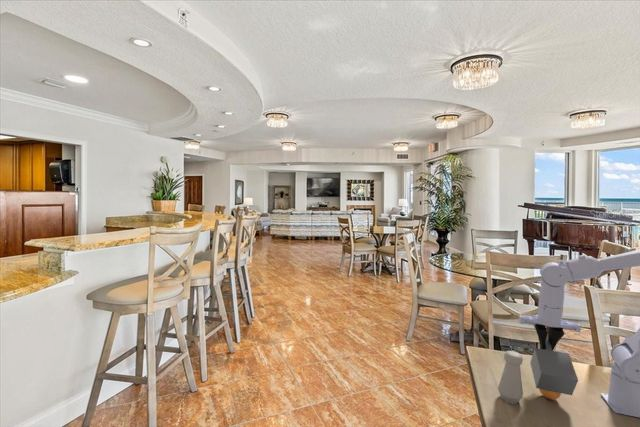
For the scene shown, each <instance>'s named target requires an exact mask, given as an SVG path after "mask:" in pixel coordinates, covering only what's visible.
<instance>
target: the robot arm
mask: <svg viewBox="0 0 640 427" xmlns="http://www.w3.org/2000/svg"><path fill="white" fill-rule="evenodd" d="M634 267H636V268H637V267H640V249H635V250H632V251H627V252H624V253H623V252H622V253H618V254H614V255H610V256H605V257H602V258H596V257H593V256H591V255H588V256H586V255H585V254H581V255H578V258H573V259H567V260H563V259H559V260H558V261H557V262H553V261H552V262H547V263H544V265H542V267H541V269H540V270H539V274H540V276H541V277H542V278H541V282H540V287H539V295H538V296H539V298H538V307H537V315H527V314H525V315H524V314H519V315H518V322H519V323H520V324H521V325H526V324H527V325H533V326H534V329H535V332H536V334H537V337H538V342H539V349H544V350H545V349H546V338H547V336H548V338H549V341H550V344H551V347H552V351H555V347H556V345H557V344H558V342H559V341H560V340H561V339H562V338H563V337H564V336H565V331H564V330H567V331H574V332H576V333H581V330H582V329H581V328H582V326H581V325H580V323H578V322H573V321H570V320H564V319H563V312H564V311H563V310H564V303H565V294H566V293H565V285H567V283H568V282H570V283H572V282H577V281H581V280H588V279H594V278H598V277H600V276H601V275H602V273H603V272H606V271H608V272H609V271H614V270H621V269H626V268H627V269H629V268H634ZM547 328H548V330H547ZM610 356H611V359H612V360H613V361H614V364H613V365H612V366H611V369H610V377H609V378H610V379H609V387H608V393H604V392H601V393H600V396H601V397H602V399H604V400H605V402H606V403H607V405H608V406H609V407H610V409H611V410H612V411H613V412H614V413H615V414H621V415H625V416H629V417H630V416H631V417H636V418H640V327H639V328H637V330H636V332H635V333H634V334H633V335H631V336H628V337H625V338H624V339H623V341H622V342H620V343H618V344H615V345H613V347H612V348H611V349H610Z"/></svg>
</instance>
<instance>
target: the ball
mask: <svg viewBox="0 0 640 427" xmlns="http://www.w3.org/2000/svg"><path fill="white" fill-rule="evenodd" d="M539 392H540V393H541V395H542V396H543V397H545V398H547V399H548V400H551V401H553V400H554V401H555V400H558V399H559V398H560V397H561V396H562V393H558V392H553V391H548V390H543V389H539Z"/></svg>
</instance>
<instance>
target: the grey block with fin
mask: <svg viewBox="0 0 640 427" xmlns="http://www.w3.org/2000/svg"><path fill="white" fill-rule="evenodd" d="M530 367H531V370H532V371H531V372H532V375H533V379H534V383H535V388H536V389H543V390H548V391H553V392H558V393H561V394H563V395H569V396H573V393H574V392H575V389H576V387H577V385H578V382H579V378H578V376H577V373H576V371H575V368H574V365H573V362H572V359H571V356H570V353H566V352H560V351H555V350H553V351H552V347H551V344H550V341H549V335H547V338H546V349H545V350H544V349H540V348H537V347H535V348H534V349H533V352H532V356H531V359H530Z"/></svg>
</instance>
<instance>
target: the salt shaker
mask: <svg viewBox="0 0 640 427" xmlns="http://www.w3.org/2000/svg"><path fill="white" fill-rule="evenodd" d="M503 360H504V361H505V364H504V368H503V370H502V371H503V372H502V375H501V377H500V381H499V383H498V387H497V389H498V392H499V394H500V398H501V400H503V401H504V402H506V403H507V404H510V405H517V404H518V403H519V402H520V401H521V400H522V399H523V397H524V396H523V394H524V390H523V381H522V373H521V365H522V364H523V361H524V358H523V356H522V354H521V353H519V352H517V351H513V350H507V351H505V352H504V355H503Z"/></svg>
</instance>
